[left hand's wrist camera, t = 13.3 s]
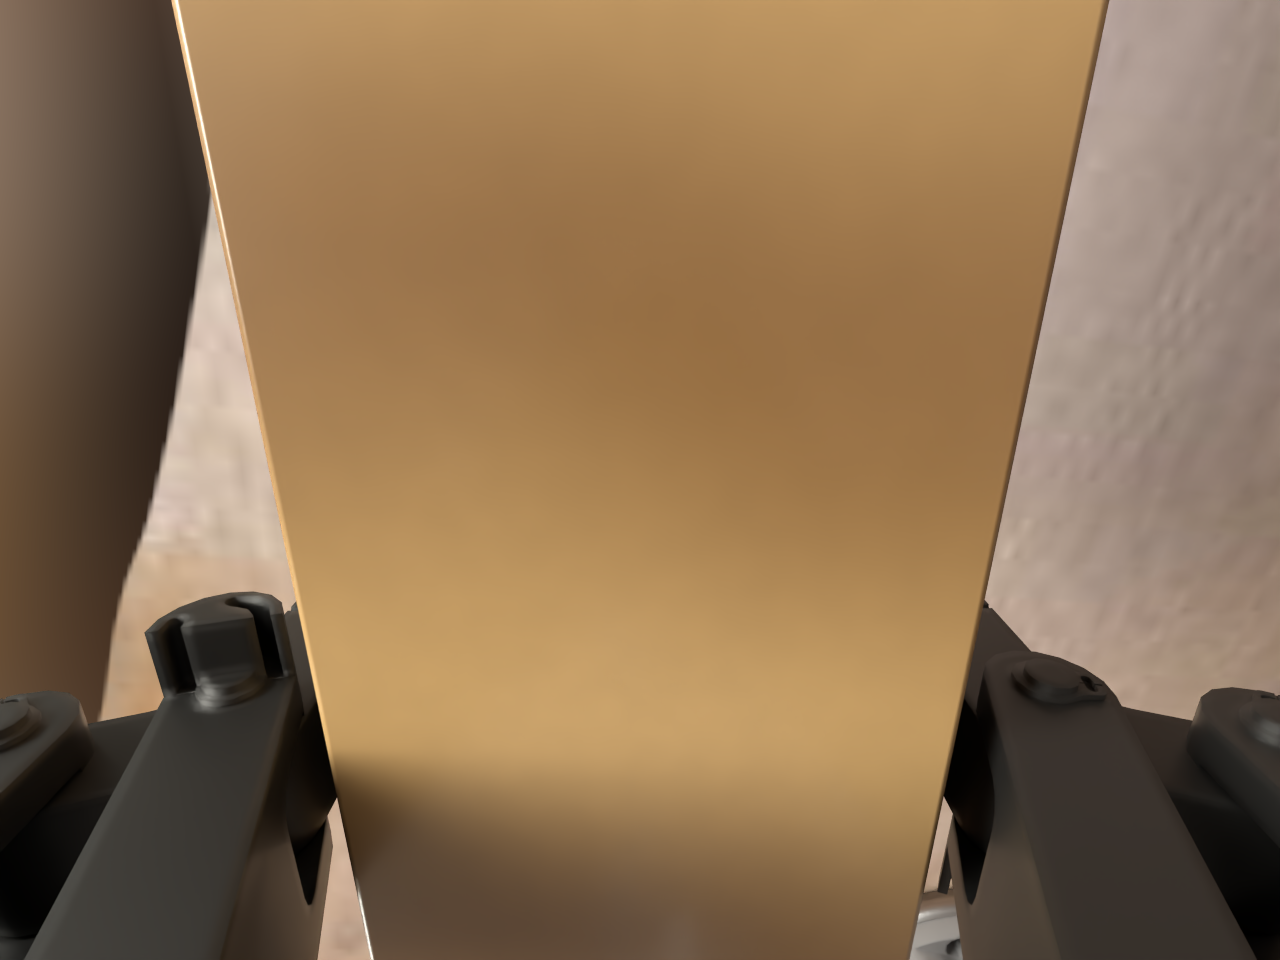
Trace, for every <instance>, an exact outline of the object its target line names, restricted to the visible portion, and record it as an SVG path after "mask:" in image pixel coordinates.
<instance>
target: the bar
mask: <svg viewBox="0 0 1280 960" xmlns="http://www.w3.org/2000/svg"><path fill="white" fill-rule="evenodd" d="M1108 4H1109V0H172V5H173V9H174V14H175V19H176V24H177V29H178V34H179V38H180V43H181V48H182V53H183V58H184V62H185V67H186V72H187V77H188V82H189V86H190V91H191V96H192V101H193V106H194V111H195V115H196V120H197V125H198V130H199V135H200V139H201V144H202V149H203V154H204V159H205V164H206V168H207V173H208V178H209V183H210V188H211V192H212V197H213V202H214V207H215V212H216V217H217V221H218V226H219V231H220V236H221V241H222V245H223V250H224V255H225V260H226V265H227V269H228V274H229V279H230V284H231V289H232V294H233V298H234V303H235V308H236V313H237V318H238V322H239V327H240V332H241V337H242V342H243V346H244V351H245V356H246V361H247V366H248V371H249V375H250V380H251V385H252V390H253V395H254V399H255V404H256V409H257V414H258V419H259V424H260V428H261V433H262V438H263V443H264V448H265V452H266V457H267V462H268V467H269V472H270V476H271V481H272V486H273V491H274V496H275V501H276V505H277V510H278V515H279V520H280V525H281V529H282V534H283V539H284V544H285V549H286V553H287V558H288V563H289V568H290V573H291V578H292V582H293V587H294V592H295V597H296V602H297V606H298V611H299V616H300V621H301V626H302V630H303V635H304V640H305V645H306V650H307V655H308V659H309V664H310V669H311V674H312V679H313V683H314V688H315V693H316V698H317V703H318V707H319V712H320V717H321V722H322V727H323V732H324V736H325V741H326V746H327V751H328V756H329V760H330V765H331V770H332V775H333V780H334V784H335V789H336V794H337V799H338V804H339V809H340V813H341V818H342V823H343V828H344V833H345V837H346V842H347V847H348V852H349V857H350V862H351V866H352V871H353V876H354V881H355V886H356V890H357V895H358V900H359V905H360V910H361V914H362V919H363V924H364V929H365V934H366V939H367V943H368V948H369V953H370V958H371V960H910V955H911V950H912V945H913V940H914V935H915V931H916V926H917V921H918V916H919V911H920V907H921V902H922V897H923V892H924V887H925V883H926V878H927V873H928V868H929V863H930V859H931V854H932V849H933V844H934V839H935V835H936V830H937V825H938V820H939V815H940V811H941V806H942V801H943V796H944V791H945V787H946V782H947V777H948V772H949V767H950V763H951V758H952V753H953V748H954V743H955V739H956V734H957V729H958V724H959V719H960V715H961V710H962V705H963V700H964V695H965V691H966V686H967V681H968V676H969V671H970V667H971V662H972V657H973V652H974V647H975V642H976V638H977V633H978V628H979V623H980V618H981V614H982V609H983V604H984V599H985V594H986V590H987V585H988V580H989V575H990V570H991V566H992V561H993V556H994V551H995V546H996V542H997V537H998V532H999V527H1000V522H1001V518H1002V513H1003V508H1004V503H1005V498H1006V494H1007V489H1008V484H1009V479H1010V474H1011V470H1012V465H1013V460H1014V455H1015V450H1016V446H1017V441H1018V436H1019V431H1020V426H1021V422H1022V417H1023V412H1024V407H1025V402H1026V398H1027V393H1028V388H1029V383H1030V378H1031V374H1032V369H1033V364H1034V359H1035V354H1036V349H1037V345H1038V340H1039V335H1040V330H1041V325H1042V321H1043V316H1044V311H1045V306H1046V301H1047V297H1048V292H1049V287H1050V282H1051V277H1052V273H1053V268H1054V263H1055V258H1056V253H1057V249H1058V244H1059V239H1060V234H1061V229H1062V225H1063V220H1064V215H1065V210H1066V205H1067V201H1068V196H1069V191H1070V186H1071V181H1072V177H1073V172H1074V167H1075V162H1076V157H1077V153H1078V148H1079V143H1080V138H1081V133H1082V129H1083V124H1084V119H1085V114H1086V109H1087V105H1088V100H1089V95H1090V90H1091V85H1092V81H1093V76H1094V71H1095V66H1096V61H1097V56H1098V52H1099V47H1100V42H1101V37H1102V32H1103V28H1104V23H1105V18H1106V13H1107V8H1108Z"/></svg>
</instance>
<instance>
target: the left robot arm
mask: <svg viewBox="0 0 1280 960" xmlns="http://www.w3.org/2000/svg"><path fill="white" fill-rule="evenodd" d="M988 605H989V604H988V603H987V602H986V601H985V600H984V604H983V609H982V614H981V618H980V623H979V628H978V633H977V638H976V642H975V647H974V652H973V657H972V662H971V667H970V671H969V676H968V681H967V686H966V691H965V695H964V700H963V705H962V710H961V715H960V719H959V724H958V729H957V734H956V739H955V743H954V748H953V753H952V758H951V763H950V767H949V772H948V777H947V782H946V787H945V791H944V797H945V799H946V801H947V803H948V805H949V807H950V809H951V811H952V813H953V816H952V821H951V825H950V830H949V835H948V839H947V844H946V849H945V853H944V858H943V863H942V867H941V872H940V876H939V884H938V891H933V892H928V893H923V897H922V902H921V907H920V911H919V916H918V921H917V926H916V931H915V935H914V940H913V945H912V950H911V955H910V960H1280V695H1278V696H1275V694H1273V693H1269V692H1265V691H1260V690H1249V689H1241V688H1234V687H1230V688H1221V689H1212V690H1210V691H1209V692H1208V693H1206V694H1205V695H1203V696H1202V697H1201V699H1200V702H1199V704H1198V707H1197V710H1196V713H1195V716H1194V718H1193V721H1191V720H1186V719H1181V718H1176V717H1170V716H1165V715H1160V714H1155V713H1150V712H1145V711H1140V710H1135V709H1130V708H1126V707H1122V706H1121V704H1120V702H1119V701H1118V699H1117V697H1116V695H1115V694H1114V693H1113V692H1112V691H1111V690H1110V688H1109V687H1108V686H1107V685H1106V684H1105V682H1104V681H1102V680H1101V679H1099V678H1098V677H1096V676H1095V675H1093V674H1092V673H1090V672H1089V671H1087V670H1086V669H1084V668H1082V667H1080V666H1078V665H1075V664H1073V663H1071V662H1068V661H1066V660H1064V659H1061V658H1058V657H1054V656H1050V655H1046V654H1042V653H1038V652H1031V651H1030V650H1029V649H1028V647H1027V646H1026V645H1025V644H1024V643H1023V642H1022V641H1021V640H1020V639H1019V638H1018V636H1017V635H1016V634H1015V633H1014V632H1013V631H1012V630H1011V629H1010V628H1009V626H1008V625H1007V624H1006V623H1005V622H1004V621H1003V620H1002V619H1001V618H1000V616H999V615H998V614H997V613H996V612H995V611H994V610H993V609H992V608H989V606H988ZM145 636H146V639H147V643H148V646H149V649H150V653H151V656H152V659H153V662H154V666H155V669H156V672H157V676H158V679H159V682H160V686H161V689H162V692H163V696H164V698H163V700H162V702H161V704H160V706H159V707H158V709H157V710H154V711H150V712H146V713H141V714H136V715H131V716H126V717H121V718H116V719H111V720H106V721H101V722H96V723H90V724H88V723H87V721H86V718H85V715H84V712H83V709H82V707H81V704H80V701H79V700H78V699H76V698H75V697H74V696H72V695H71V694H69V693H65V692H56V691H42V692H35V693H27V694H18V695H14V696H9V697H6V699H4V700H3V699H0V960H317V958H318V951H319V944H320V936H321V929H322V922H323V914H324V907H325V900H326V893H327V885H328V878H329V871H330V863H331V856H332V849H333V844H332V836H331V830H330V825H329V821H328V816H327V815H328V813H329V811H330V810H331V808H332V806H333V804H334V802H335V800H336V798H337V794H336V789H335V784H334V780H333V775H332V770H331V765H330V760H329V756H328V751H327V746H326V741H325V736H324V732H323V727H322V722H321V717H320V712H319V707H318V703H317V698H316V693H315V688H314V683H313V679H312V674H311V669H310V664H309V659H308V655H307V650H306V645H305V640H304V635H303V630H302V626H301V621H300V616H299V611H298V606H297V602H295V603H294V605H293V606H292V607H291V611H287V612H286V613H285V615H284V611H283V607H282V602H280V601H279V600H278V599H276V598H275V597H273V596H272V595H269V594H263V593H258V592H235V593H227V594H222V595H217V596H212V597H208V598H204V599H201V600H198V601H195V602H193V603H190V604H187V605H184V606H182V607H179V608H177V609H176V610H174V611H172V612H170V613H169V614H167V615H165V616H163V617H161V618H160V619H158V620H157V621H156V622H155V623H154V624H153V625H152V626H151V627H150V628H149V629H148V630H147V631H146V632H145ZM951 878H952V884H953V889H949V884H950V880H951ZM948 889H949V890H948Z"/></svg>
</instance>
